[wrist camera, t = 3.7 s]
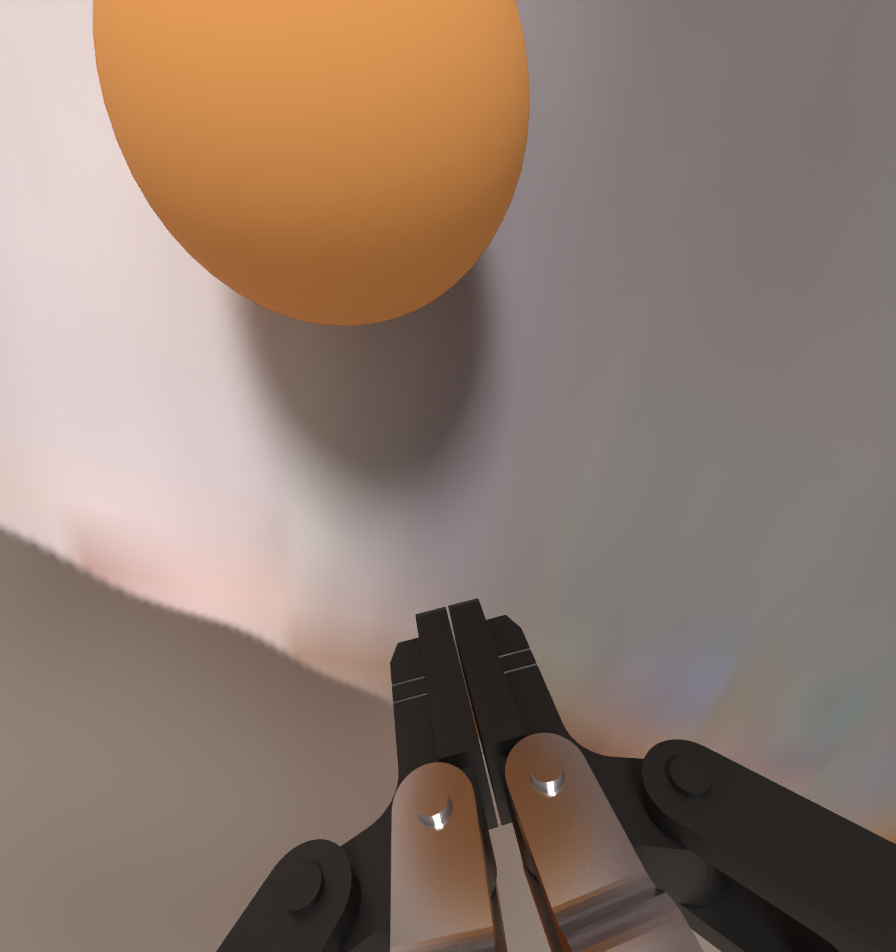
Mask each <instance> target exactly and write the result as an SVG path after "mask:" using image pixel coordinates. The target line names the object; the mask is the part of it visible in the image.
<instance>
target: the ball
mask: <svg viewBox="0 0 896 952" xmlns="http://www.w3.org/2000/svg"><path fill="white" fill-rule="evenodd" d="M93 37H94V47H95V56H96V66H97V71H98V76H99V80H100V85H101V90H102V94H103V99H104V103H105V106H106V109H107V112H108V115H109V118H110V121H111V124H112V127H113V130H114V133H115V136H116V139H117V142H118V144H119V147H120V149H121V151H122V153H123V155H124V158H125V160H126V162H127V164H128V167H129V169H130V171H131V173H132V175H133V177H134V179H135V181H136V183H137V184H138V186H139V188H140V189H141V191H142V193H143V194H144V196H145V198H146V200H147V201H148V203H149V205H150V206H151V208H152V209H153V210H154V212H155V213H156V215H157V216H158V217H159V219H160V220H161V221H162V223H163V224H164V225H165V227H166V228H167V230H168V231H169V232H170V233H171V234H172V236H173V237H174V238H175V239H176V240H177V241H178V242H179V243H180V244H181V246H182V247H183V248H184V249H185V250H186V251H187V252H188V253H189V254H190V255H191V256H192V257H193V258H194V259H195V260H196V261H197V262H198V263H200V264H201V265H202V266H203V267H204V268H205V269H206V270H207V271H209V272H210V273H211V274H212V275H213V276H215V277H216V278H217V279H219V280H220V281H222V282H223V283H224V284H226V285H227V286H229V287H230V288H231V289H233V290H234V291H236V292H237V293H239V294H240V295H242V296H244V297H246V298H248V299H249V300H251V301H253V302H255V303H257V304H258V305H260V306H262V307H265V308H267V309H270V310H272V311H274V312H277V313H279V314H282V315H284V316H287V317H291V318H295V319H298V320H302V321H306V322H310V323H317V324H324V325H331V326H357V325H365V324H373V323H379V322H383V321H387V320H390V319H394V318H398V317H401V316H403V315H405V314H408V313H410V312H412V311H415V310H417V309H419V308H421V307H423V306H425V305H426V304H428V303H430V302H431V301H433V300H435V299H436V298H438V297H439V296H441V295H442V294H443V293H444V292H446V291H447V290H448V289H450V288H451V287H452V286H453V285H455V284H456V283H457V282H458V281H459V280H460V279H461V278H462V277H463V276H464V275H465V274H466V273H467V272H468V271H469V270H470V269H471V268H472V267H473V265H474V264H475V263H476V261H477V260H478V259H479V257H480V256H481V255H482V253H483V252H484V251H485V249H486V248H487V247H488V245H489V244H490V242H491V240H492V239H493V237H494V235H495V233H496V232H497V230H498V228H499V226H500V225H501V223H502V221H503V219H504V217H505V214H506V212H507V210H508V207H509V205H510V203H511V200H512V198H513V195H514V192H515V189H516V186H517V182H518V179H519V176H520V172H521V169H522V164H523V158H524V153H525V148H526V142H527V133H528V120H529V75H528V65H527V57H526V49H525V40H524V35H523V30H522V26H521V22H520V17H519V13H518V8H517V4H516V1H515V0H93Z"/></svg>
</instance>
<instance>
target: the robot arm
mask: <svg viewBox="0 0 896 952" xmlns="http://www.w3.org/2000/svg"><path fill="white" fill-rule="evenodd" d="M448 608H449V612H450V617H451V621H452V625H453V630H454V634H455V639H456V643H457V647H458V652H459V656H460V660H461V665H462V669H463V673H464V677H465V681H466V685H467V689H468V693H469V697H470V701H471V705H472V709H473V713H474V717H475V721H476V725H477V729H478V733H479V737H480V741H481V745H482V749H483V753H484V757H485V761H486V765H487V769H488V773H489V777H490V781H491V785H492V789H493V793H494V796H495V801H496V804H497V809H498V813H499V817H500V820H501V824H502V825H505V824H508V823H513V827H514V830H515V834H516V838H517V842H518V845H519V849H520V853H521V858H522V863H523V868H524V871H525V875H526V878H527V881H528V883H529V887H530V890H531V893H532V896H533V898H534V901H535V904H536V907H537V910H538V913H539V916H540V919H541V922H542V925H543V928H544V931H545V934H546V937H547V940H548V943H549V946H550V949H551V952H704V951H703V949H702V948H701V946H700V944H699V942H698V940H697V939H696V937H695V935H694V933H693V932H692V930H694V931H695V932H696V933H698V934H699V935H700V936H702V937H703V938H704V939H706V940H707V941H708V942H710V943H711V944H712V945H713V946H715V947H716V948H717V949H719V950H720V951H721V952H896V844H894V843H892V842H890V841H888V840H886V839H884V838H882V837H880V836H878V835H877V834H875V833H873V832H871V831H869V830H867V829H865V828H863V827H861V826H859V825H857V824H855V823H853V822H851V821H849V820H847V819H845V818H843V817H841V816H839V815H837V814H835V813H833V812H832V811H830V810H828V809H826V808H824V807H822V806H820V805H818V804H816V803H814V802H812V801H810V800H808V799H806V798H804V797H802V796H800V795H798V794H796V793H794V792H792V791H790V790H789V789H787V788H785V787H783V786H781V785H779V784H777V783H775V782H773V781H771V780H769V779H767V778H765V777H763V776H761V775H759V774H757V773H755V772H753V771H751V770H749V769H747V768H746V767H744V766H742V765H740V764H738V763H736V762H734V761H732V760H730V759H728V758H726V757H724V756H722V755H720V754H718V753H716V752H714V751H712V750H710V749H708V748H706V747H704V746H702V745H700V744H698V743H695V742H691V741H687V740H667V741H663V742H661V743H658V744H657V745H655V746H653V747H652V748H651V749H650V750H649V751H648V753H647V754H646V756H645V758H644V759H638V758H622V757H610V756H604V755H600V754H597V753H594V752H592V751H589V750H588V749H586V748H584V747H582V746H581V745H580V744H578V743H577V742H576V741H575V740H574V739H573V738H572V737H571V736H570V735H569V733H568V732H567V731H566V729H565V727H564V725H563V723H562V721H561V718H560V716H559V714H558V712H557V709H556V707H555V705H554V702H553V700H552V698H551V695H550V693H549V691H548V689H547V686H546V684H545V682H544V679H543V677H542V675H541V672H540V670H539V668H538V666H537V664H536V661H535V659H534V656H533V654H532V652H531V650H530V648H529V645H528V642H527V640H526V638H525V636H524V633H523V631H522V629H521V628H520V627H519V626H518V625H517V624H516V623H515V622H513V621H512V620H511V619H510V618H509V617H508V616H507V615H503V616H499V617H496V618H492V619H488V620H486V619H485V616H484V613H483V610H482V608H481V605H480V602H479V599H478V598H477V599H473V600H469V601H465V602H461V603H457V604H453V605H450V606H448ZM416 622H417V628H418V635H419V638H415V639H411V640H408V641H404V642H400V643H398V644H397V647H396V649H395V652H394V654H393V657H392V659H391V662H390V667H391V680H392V693H393V702H394V705H393V706H394V718H395V730H396V744H397V755H398V756H397V757H398V770H399V778H398V784H397V788H396V792H395V794H394V797H393V799H392V801H391V803H390V804H389V806H388V808H387V809H386V810H385V812H384V813H383V814H382V816H381V817H380V818H379V819H378V820H377V821H376V822H375V823H374V824H372V825H371V826H369V827H368V828H367V829H365V830H364V831H362V832H361V833H360V834H358V835H357V836H355V837H354V838H353V839H351V840H349V841H348V842H346V843H345V844H343V845H342V846H338V845H337V844H336V843H334V842H331V841H329V840H323V839H317V840H311V841H307V842H305V843H303V844H300V845H299V846H297V847H295V848H294V849H292V850H291V851H290V852H288V853H287V854H286V855H285V856H284V857H283V858H282V859H281V860H280V861H279V862H278V863H277V865H276V866H275V867H274V869H273V870H272V871H271V873H270V875H269V876H268V877H267V879H266V880H265V882H264V883H263V885H262V886H261V887H260V889H259V890H258V892H257V893H256V895H255V896H254V898H253V899H252V901H251V902H250V903H249V905H248V906H247V908H246V909H245V911H244V912H243V914H242V915H241V917H240V918H239V919H238V921H237V922H236V924H235V925H234V927H233V928H232V930H231V931H230V933H229V934H228V935H227V937H226V938H225V940H224V941H223V943H222V944H221V946H220V947H219V948H218V950H217V951H216V952H507V947H506V941H505V934H504V927H503V921H502V915H501V908H500V902H499V895H498V888H497V882H496V878H497V868H496V862H495V857H494V853H493V848H492V844H491V840H490V835H489V831H488V830H489V829H492V828H496V827H498V824H497V819H496V814H495V810H494V806H493V801H492V797H491V793H490V788H489V784H488V779H487V775H486V770H485V766H484V762H483V758H482V753H481V749H480V744H479V740H478V736H477V732H476V728H475V724H474V720H473V716H472V712H471V708H470V704H469V700H468V696H467V692H466V687H465V683H464V679H463V675H462V671H461V667H460V663H459V659H458V655H457V651H456V647H455V643H454V639H453V635H452V631H451V627H450V623H449V619H448V615H447V610H446V607H442V608H438V609H435V610H431V611H427V612H423V613H419V614H416ZM691 929H692V930H691Z"/></svg>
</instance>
